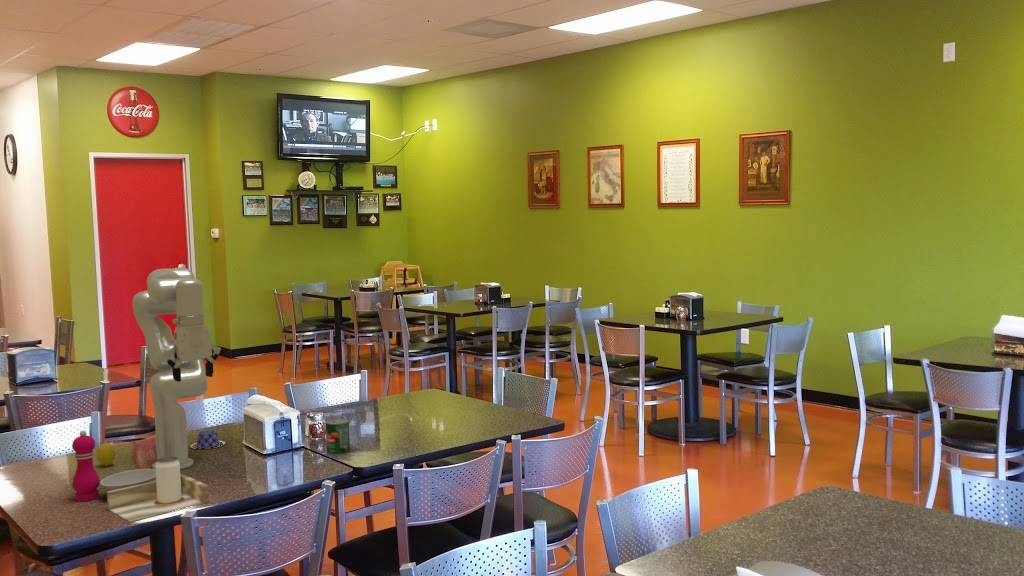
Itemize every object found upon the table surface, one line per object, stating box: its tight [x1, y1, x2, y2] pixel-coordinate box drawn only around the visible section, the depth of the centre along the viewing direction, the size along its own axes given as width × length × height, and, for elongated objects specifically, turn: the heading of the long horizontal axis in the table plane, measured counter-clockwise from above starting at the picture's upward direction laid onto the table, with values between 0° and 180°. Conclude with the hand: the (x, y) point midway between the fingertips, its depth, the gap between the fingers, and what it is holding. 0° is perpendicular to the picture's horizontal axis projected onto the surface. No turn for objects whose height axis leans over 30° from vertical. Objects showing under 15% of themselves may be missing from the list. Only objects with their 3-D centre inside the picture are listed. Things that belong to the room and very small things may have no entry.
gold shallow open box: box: [106, 474, 210, 523], centre depth 243 cm, size 16×22×5 cm
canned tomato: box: [325, 418, 351, 456], centre depth 296 cm, size 8×8×11 cm
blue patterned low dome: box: [189, 430, 226, 450], centre depth 309 cm, size 12×12×5 cm
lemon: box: [96, 442, 116, 467], centre depth 285 cm, size 6×6×8 cm
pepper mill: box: [71, 430, 101, 502], centre depth 251 cm, size 7×7×20 cm
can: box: [155, 457, 181, 504], centre depth 246 cm, size 6×6×12 cm
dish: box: [99, 468, 156, 491], centre depth 255 cm, size 18×14×5 cm
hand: (193, 378), depth 256 cm, fingers open, 9 cm apart
